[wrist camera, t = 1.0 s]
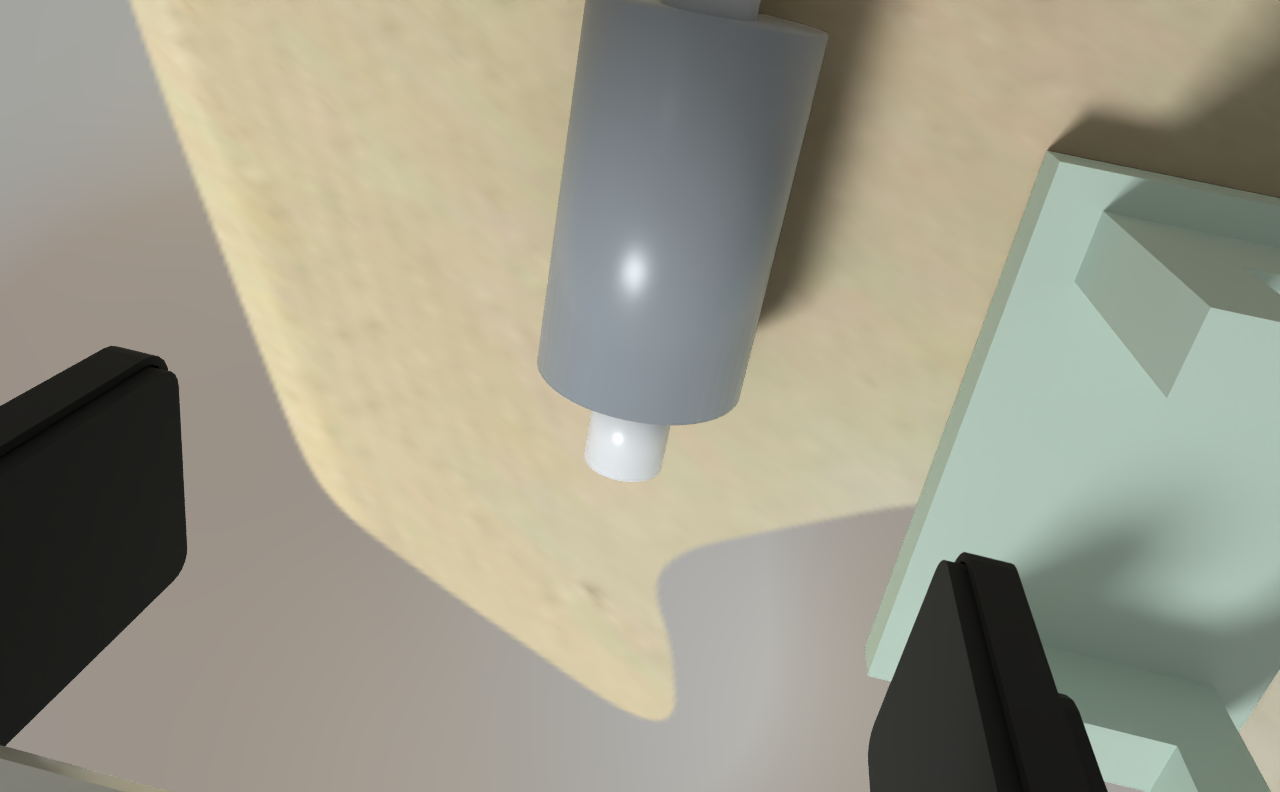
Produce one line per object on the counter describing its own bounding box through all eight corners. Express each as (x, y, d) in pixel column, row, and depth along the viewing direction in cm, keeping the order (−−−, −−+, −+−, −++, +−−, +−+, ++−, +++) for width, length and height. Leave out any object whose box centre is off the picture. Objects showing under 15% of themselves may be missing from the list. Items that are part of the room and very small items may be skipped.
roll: (660, -134, 25) (561, -167, 20) (881, -94, 23) (836, -120, 18) (577, 394, 32) (488, 470, 27) (741, 451, 31) (680, 543, 25)
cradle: (1047, 150, 26) (1153, 241, 18) (1501, 243, 25) (1830, 383, 17) (864, 646, 34) (881, 863, 26) (1202, 730, 33) (1328, 981, 25)
